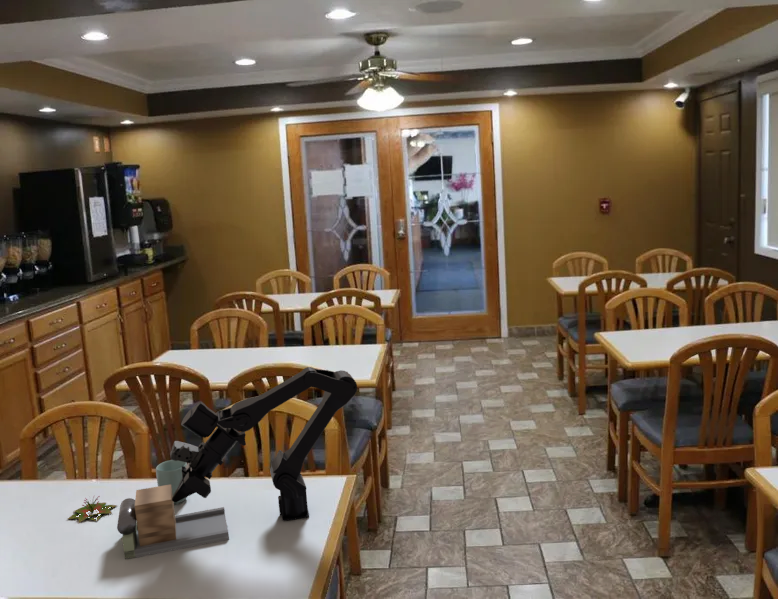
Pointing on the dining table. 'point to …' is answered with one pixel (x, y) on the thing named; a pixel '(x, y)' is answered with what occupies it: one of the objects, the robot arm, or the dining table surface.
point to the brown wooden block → (155, 515)
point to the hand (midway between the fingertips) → (173, 501)
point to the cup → (170, 474)
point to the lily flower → (91, 510)
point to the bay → (188, 530)
